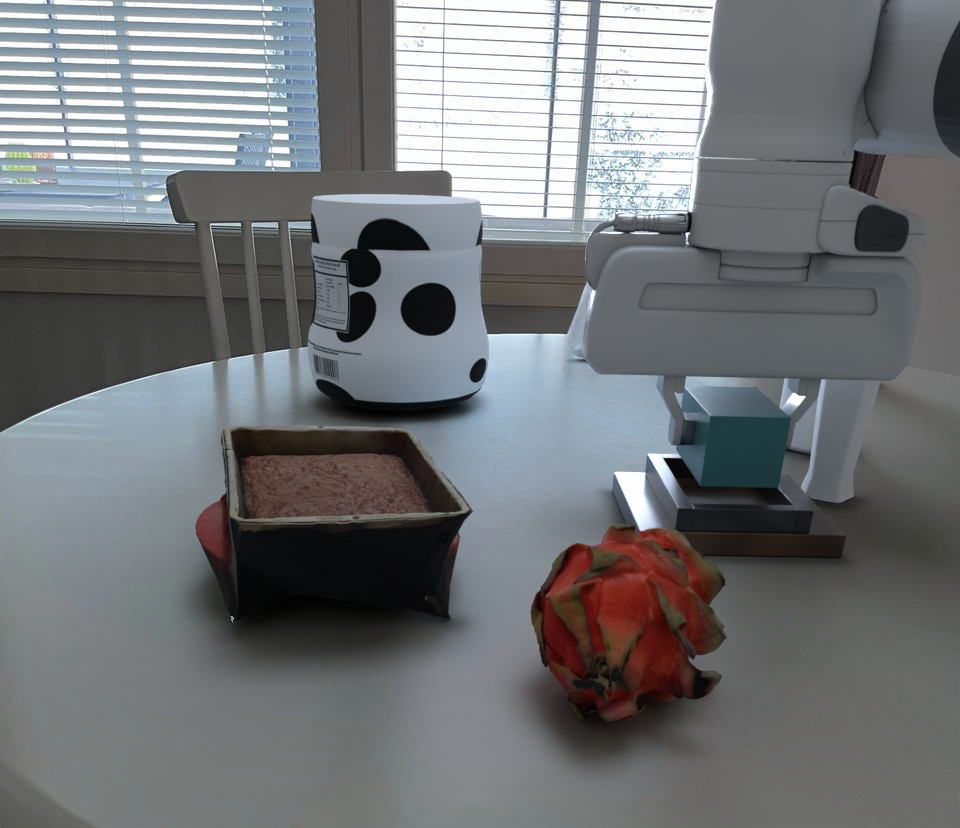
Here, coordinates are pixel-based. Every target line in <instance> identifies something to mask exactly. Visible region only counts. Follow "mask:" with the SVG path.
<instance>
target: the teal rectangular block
mask: <svg viewBox="0 0 960 828" xmlns="http://www.w3.org/2000/svg"><path fill="white" fill-rule="evenodd" d="M680 408H681V410H682V412H683V413H691V414H692V415H693V416H694V417H695V419H696V420H697V424H696V431H695V433H694V435H695V439H694V443H693V445H675V446H676V447H675V450H676V452H677V454H679V455H680V456H681V458H682V459H683V461H684V462H685V464H686V465H687V467H688V468H689V470H690V471H691V473H692V474H693V476H694V477H695V479H696V480H697V482H698V483H699V485H700V486H704V487H751V488H779V483H780V477H781V475H782V471H783V466H784V460H785V454H786V450H787V449H786V444H787V439H788V434H789V428H790V423H791V417H790V416H788V415H787V414H786V413H785V412H784V411H783V410H781V409H780V406H778V405H777V404H776V403H775V402H773V401H772V400H771V399H770V398H769V396H766V394H764V393H763V392H762V391H761V390H760V389H759V388H757V387H752V386H751V387H750V386H713V385H712V386H709V385H704V386H703V385H685V388H684V392H683V393H682V399H681V406H680Z"/></svg>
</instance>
